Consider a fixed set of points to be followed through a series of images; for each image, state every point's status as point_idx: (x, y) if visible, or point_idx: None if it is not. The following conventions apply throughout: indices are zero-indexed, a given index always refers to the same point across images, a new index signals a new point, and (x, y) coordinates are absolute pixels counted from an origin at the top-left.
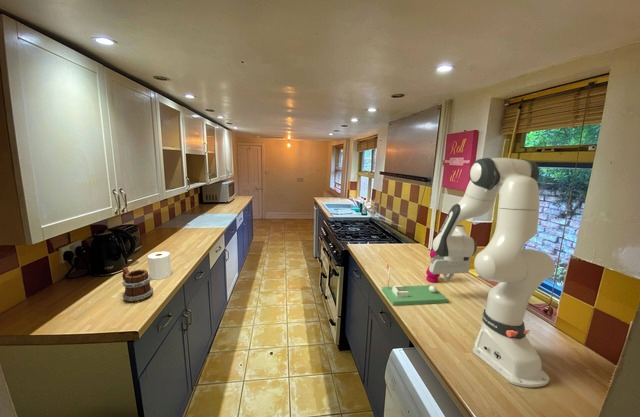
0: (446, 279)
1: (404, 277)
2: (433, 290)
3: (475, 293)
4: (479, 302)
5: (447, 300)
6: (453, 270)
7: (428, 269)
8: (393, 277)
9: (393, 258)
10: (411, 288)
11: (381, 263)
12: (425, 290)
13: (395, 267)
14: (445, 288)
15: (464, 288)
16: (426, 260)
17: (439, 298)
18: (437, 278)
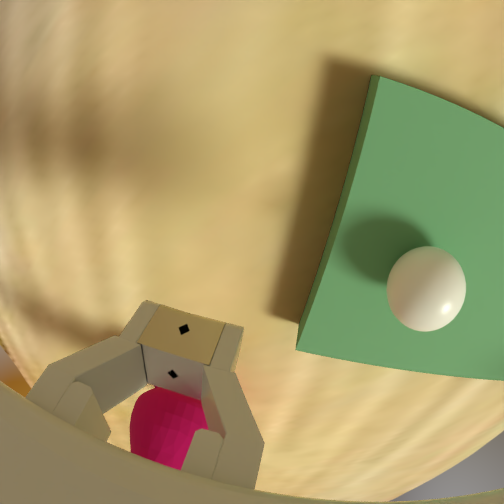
0: (226, 349)
1: (348, 438)
2: (454, 260)
3: (8, 163)
4: (48, 36)
5: (379, 76)
6: (15, 487)
7: None
8: (404, 444)
9: None
10: (501, 353)
11: (331, 492)
12: None
13: (301, 476)
14: (169, 285)
15: (39, 236)
16: (117, 443)
17: (468, 132)
18: None
